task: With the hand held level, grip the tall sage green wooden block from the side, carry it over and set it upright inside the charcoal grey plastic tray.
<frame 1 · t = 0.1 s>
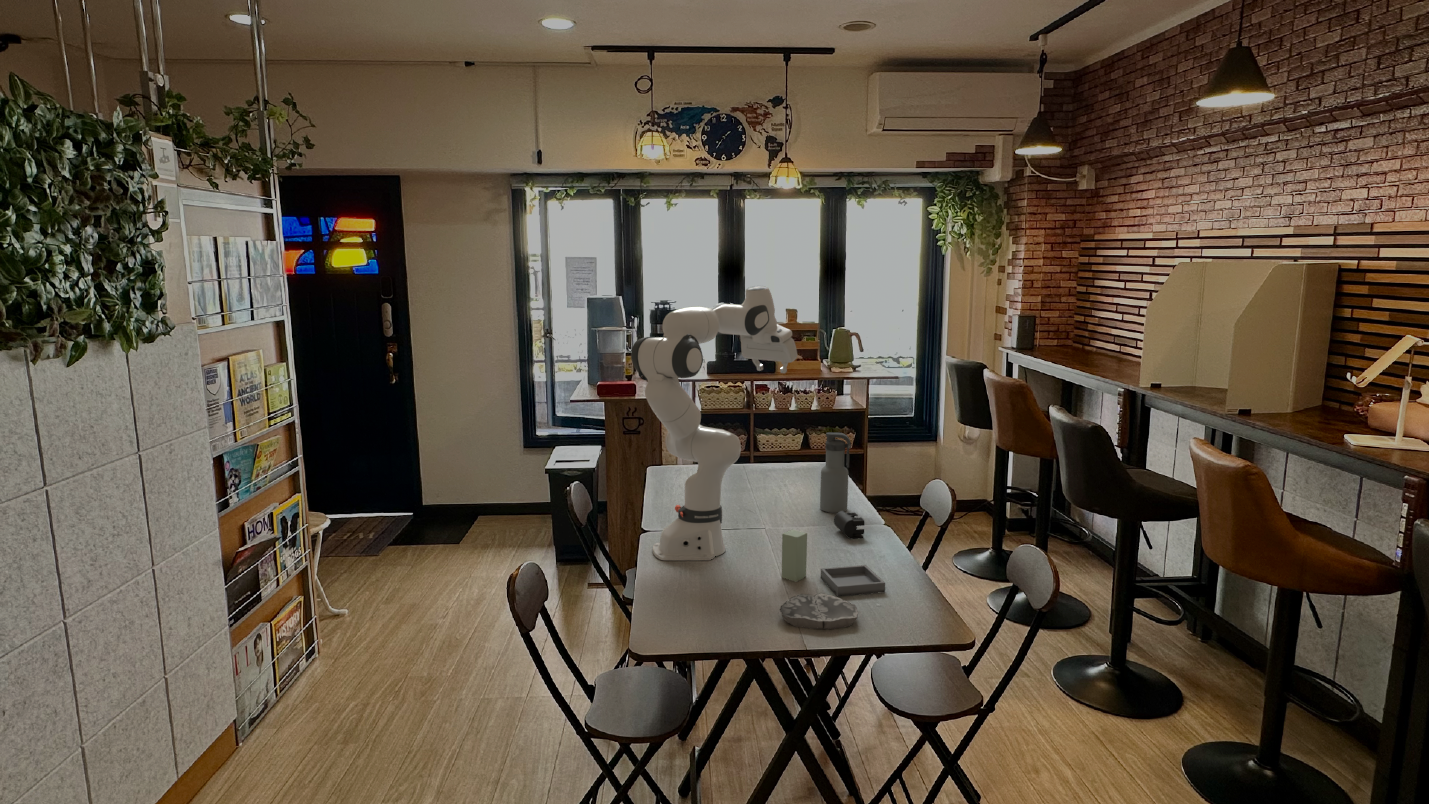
hand: (772, 371, 282), 52 cm above the table, tool tilted 20°, fingers open, 8 cm apart
brain slice: (817, 618, 214), on the table
grey tray: (851, 585, 234), on the table
sage block: (793, 577, 240), on the table
end cap: (848, 535, 277), on the table
water bottle: (834, 510, 304), on the table
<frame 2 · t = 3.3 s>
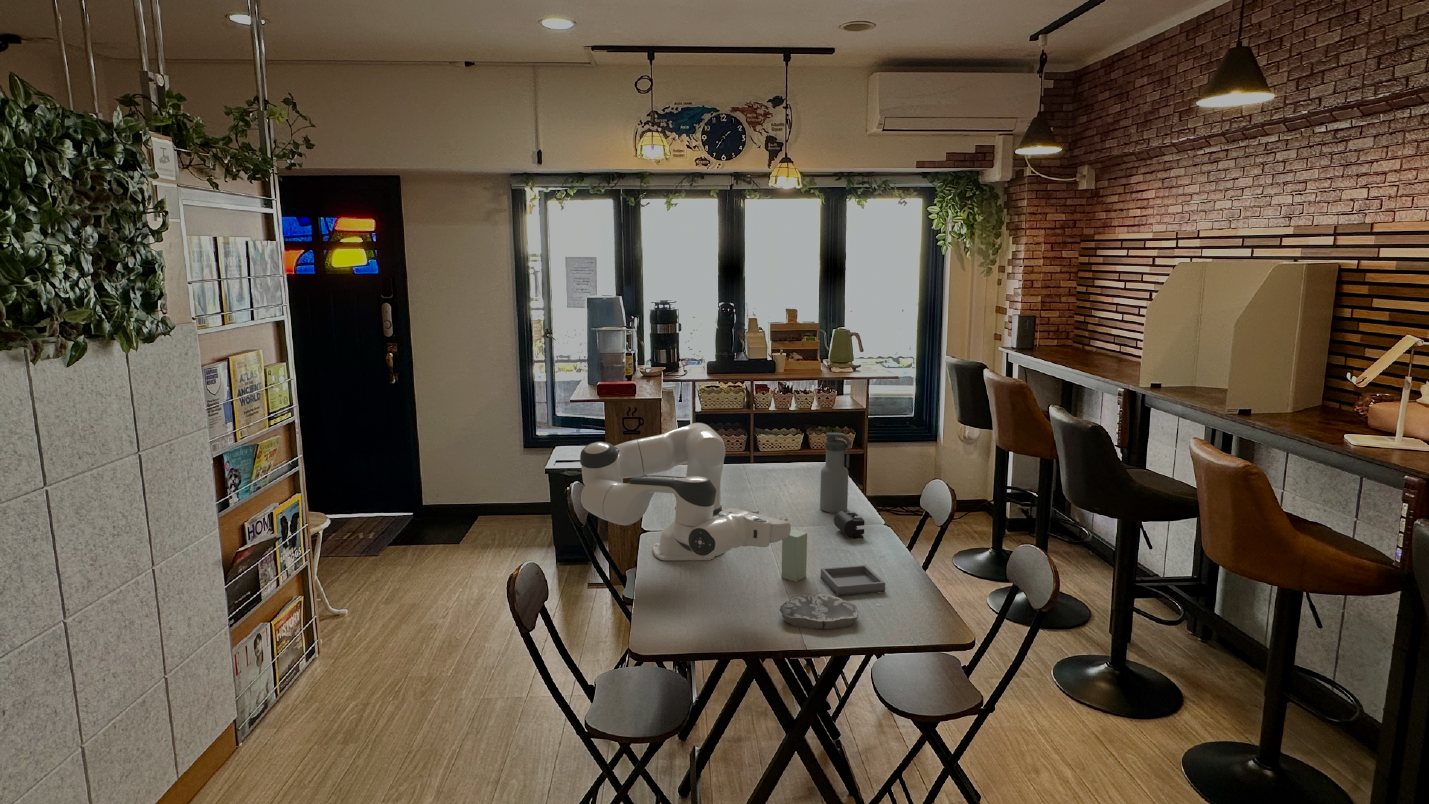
hand: (770, 516, 227), 21 cm above the table, tool horizontal, fingers open, 8 cm apart
nothing on the table moved.
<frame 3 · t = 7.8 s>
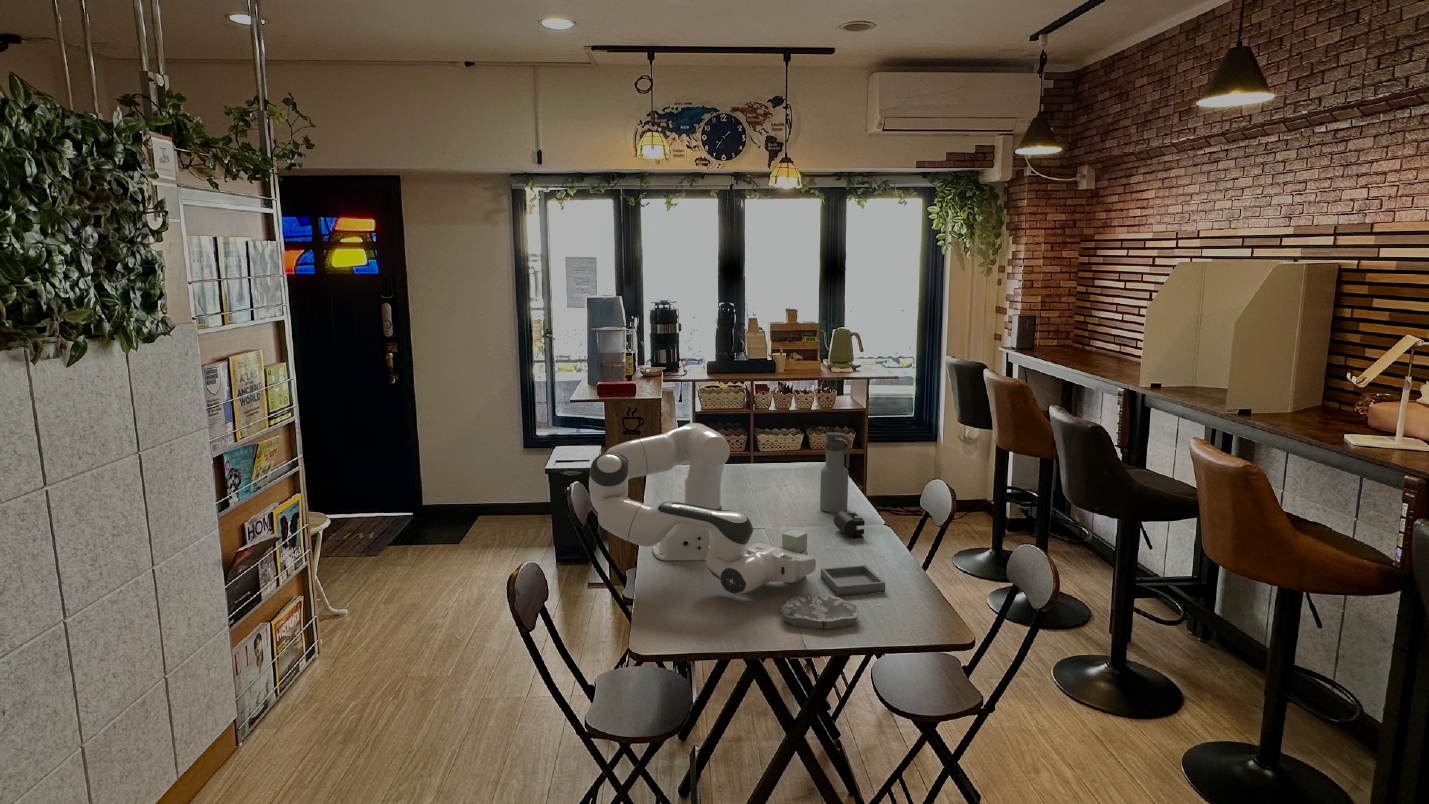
hand: (796, 550, 239), 8 cm above the table, tool horizontal, fingers closed on sage block, 5 cm apart
sage block: (793, 577, 240), on the table, touching gripper
everything else where it was.
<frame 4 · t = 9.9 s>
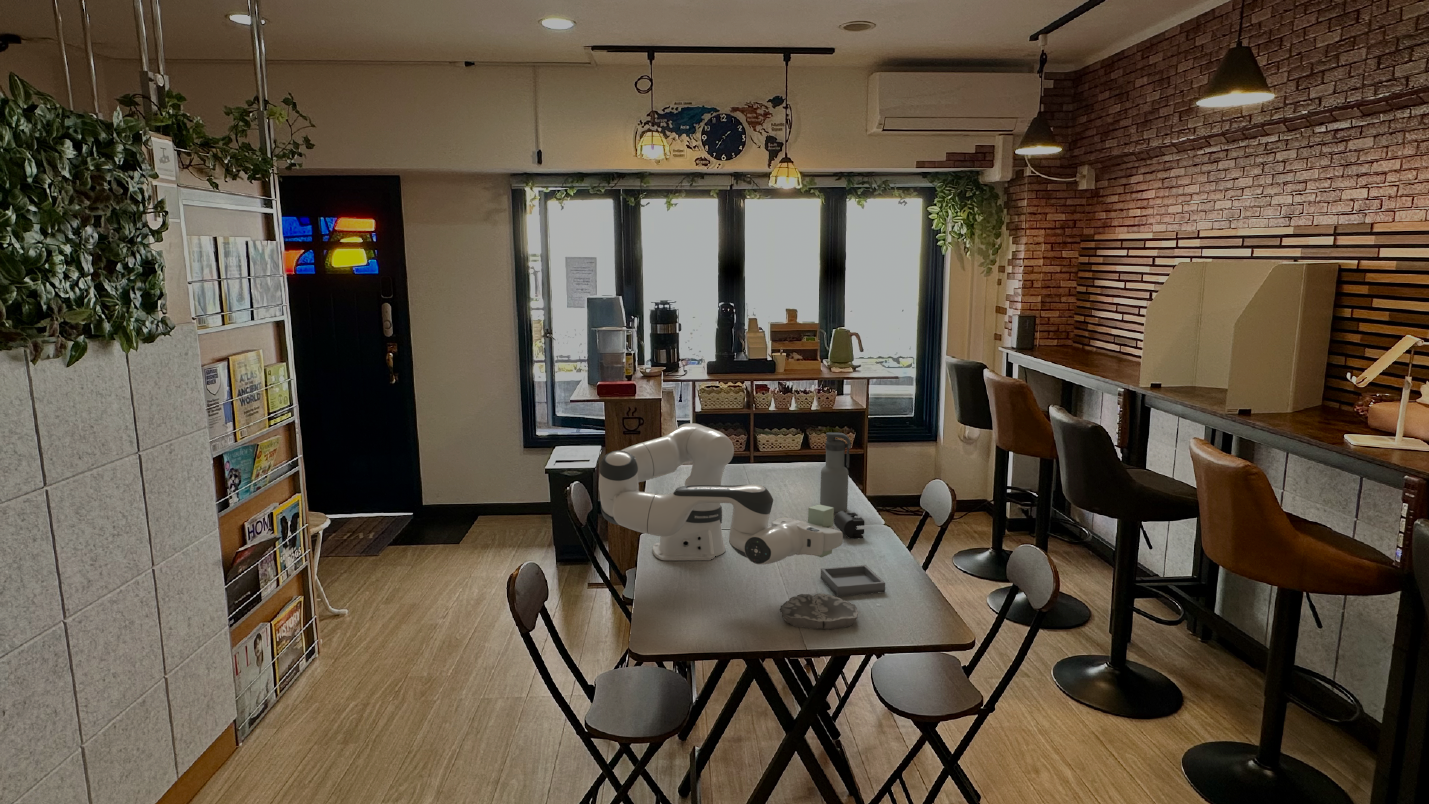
hand: (822, 526, 233), 17 cm above the table, tool horizontal, fingers closed on sage block, 5 cm apart
sage block: (819, 553, 233), point 9 cm above the table, touching gripper
everything else where it was.
when the fingers open (10 cm above the table, at t = 12.2 s): sage block drops 2 cm, resting on grey tray.
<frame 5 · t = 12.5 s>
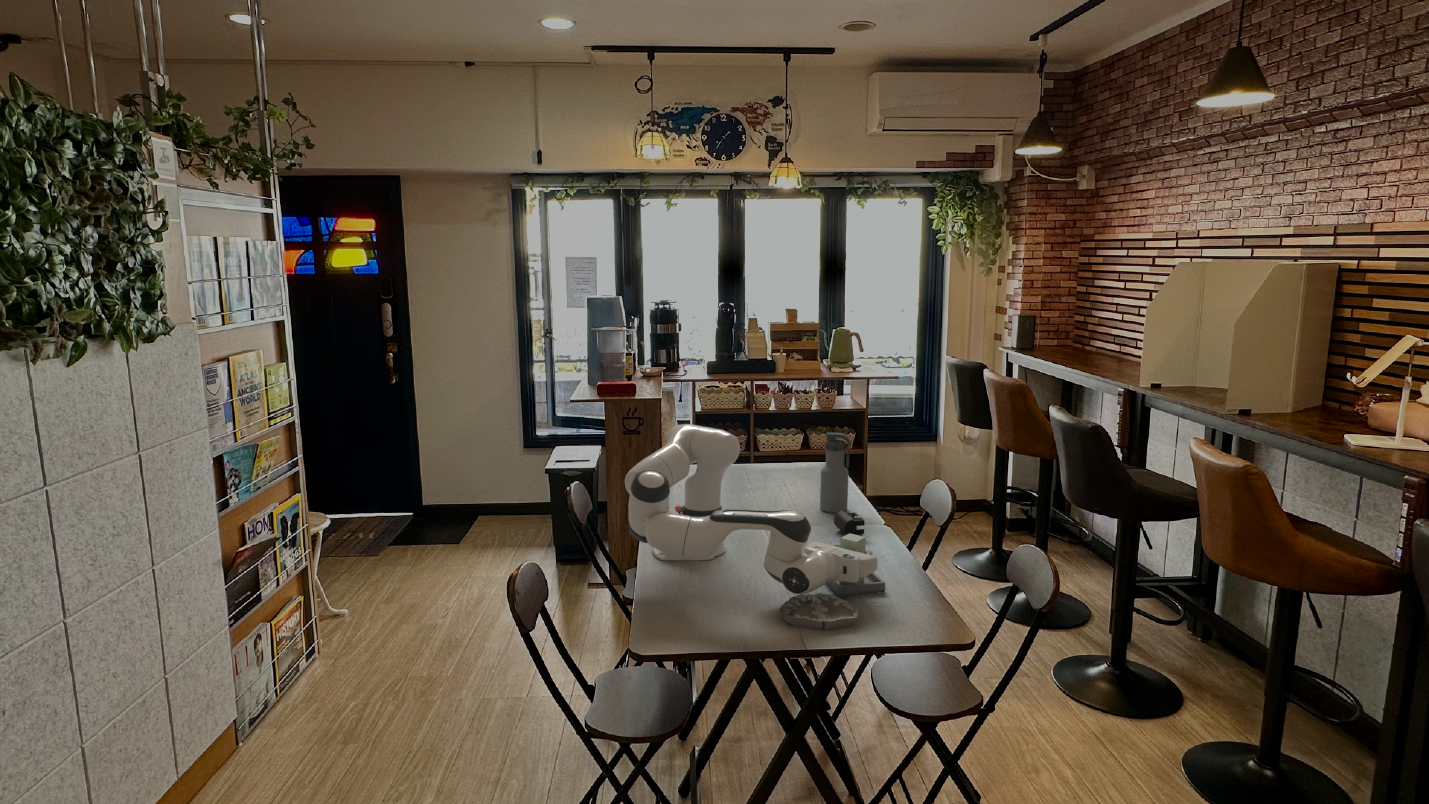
hand: (854, 549, 233), 10 cm above the table, tool horizontal, fingers open, 8 cm apart
sage block: (851, 582, 234), point 1 cm above the table, touching grey tray
everything else where it was.
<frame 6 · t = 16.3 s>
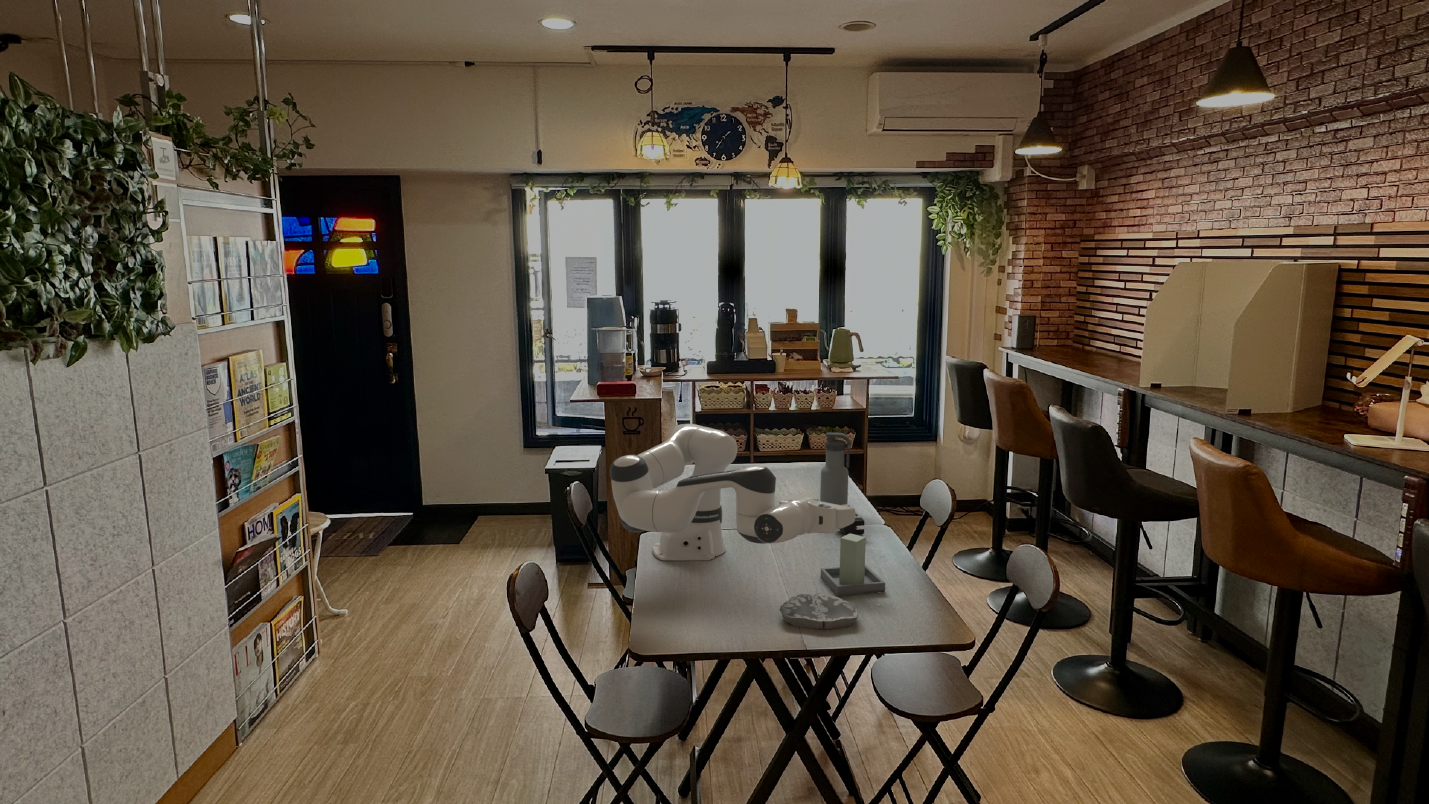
hand: (831, 504, 221), 26 cm above the table, tool horizontal, fingers open, 8 cm apart
nothing on the table moved.
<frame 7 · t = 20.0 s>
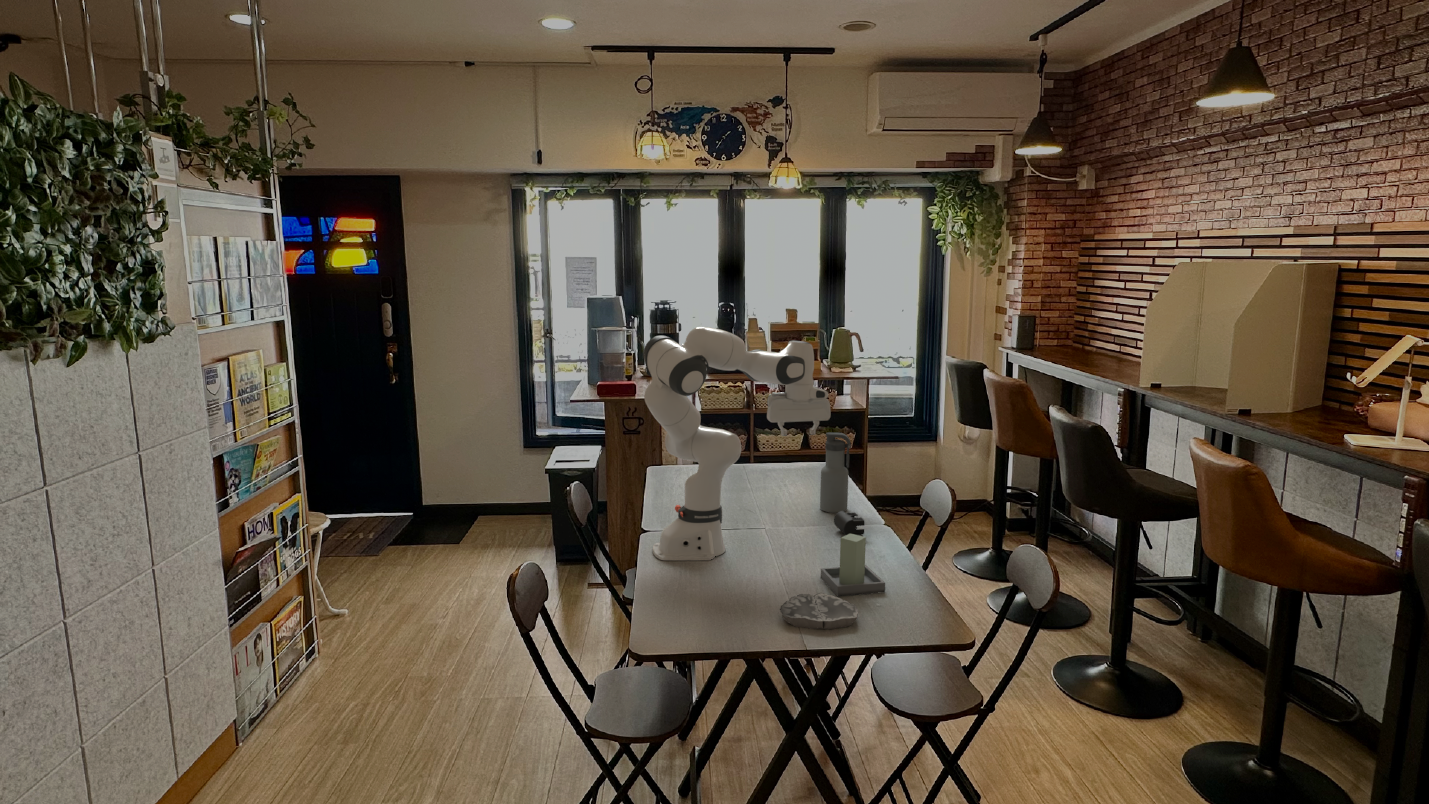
hand: (798, 435, 267), 34 cm above the table, tool pointing down, fingers open, 8 cm apart
nothing on the table moved.
at the end: sage block inside the target area on the grey tray (0.1 cm from its centre), point 0.8 cm above the grey tray's base; sage block tilted 0°; the gripper is holding nothing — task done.
